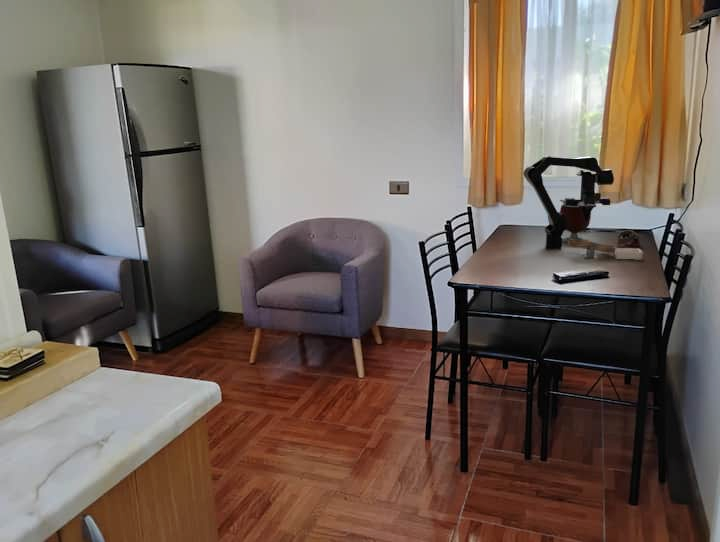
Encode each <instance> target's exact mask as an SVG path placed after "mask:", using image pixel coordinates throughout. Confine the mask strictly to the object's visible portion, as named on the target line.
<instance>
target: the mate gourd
mask: <svg viewBox="0 0 720 542" xmlns="http://www.w3.org/2000/svg"><path fill="white" fill-rule="evenodd" d="M559 202H561V203H562V204H561V207H560V211H559V212H560V213H563V214H564V217H565V219H566V220H567V221H568V222H566V223H567V228H566V230H565V231H567V232H569V233H570V235H569V236H561V238H562V242H564V241H566V242H565V243H568V241H569V237H570V238H571V239H573V240H579V241H587V242H588V241H589V240H588V239H589V238H586V237H583V236H579V233H580V232H583V231H585V230H586V229H587V228H589V225H590V222H591V215H592V212H591V213H590V215H589V217H588V220H587V221H585V219H584V216H583V213H582V210H581V208H580V207H578V206H577V205H578V204H574V205H565V204H564V200H563V199H560V200H559ZM585 206H586V212H587V205H586V204H585Z"/></svg>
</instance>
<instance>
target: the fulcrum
mask: <svg viewBox="0 0 720 542" xmlns="http://www.w3.org/2000/svg"><path fill="white" fill-rule="evenodd" d="M595 253H596V250H595V247H590V249H586V253H585V254H582V256H584V257H583V258H584V259H585V260H586V259H598V260H600V259H599V257H598V255H596V254H595Z"/></svg>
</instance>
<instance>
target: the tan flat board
mask: <svg viewBox="0 0 720 542" xmlns="http://www.w3.org/2000/svg"><path fill="white" fill-rule="evenodd" d="M568 237H569V241H568V242H567V244H568V246H569V247H572V248H578V249H585V250H587V249H590V247H595V252H596V251H597V252H602V253H610V254H613V253H615V249H616V247H614V245H610V244H605V243H598V242H597V243H596V242H592V241H587V242H586V241H579V240H573V239H571V238H570V236H568Z"/></svg>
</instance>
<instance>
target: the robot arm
mask: <svg viewBox="0 0 720 542" xmlns="http://www.w3.org/2000/svg"><path fill="white" fill-rule="evenodd" d="M550 166H556V167H558V166H559V167H572V168H577V169H579V171H578V172H577V173H576V176H579V177H581V179H580V180H581V181H580V198H579V199H575V197H565V198H564V200H563V201H564V203H563V204H565V205H574V204H578V205H577V206H578V207H580V208H581V210H582V213H583V216H584V219H585V221H587V220H588V217H589V215H590V213H591V214H592V211H593V209H594V208H597V204H601V205H602V206H611V199H610V198H609V197H601V192H595V191H596V190H595V187H596V184H597V186H611V185H613V184H614V181H615V177H614V173H613V169H602V168H601V167H600V165H599V161H598V159H596V157H592V156H583V157H582V156H581V157H580V156H579V157H574V158H572V157H562V156H561V157H560V156H550V155H549V156H548V155H545V156H543V157H542V158H541V159H540V160H538V161H536V162H534V163H533V164H532V165H530V166H527V167H526V168H524V170H523V177H524V178H525V179H526V181H527V182H528V183H529V184H530V186H532V188H533V189H534V191H535V193H536V195H537V196H538V199H539V201H540V203H541V204H542V206H543V209H544V210H545V212H546V215H547V221H548V225H547V226H546V227H544V230H543V231H544V233H545V245H544V247H545V249H546V250H562V247H563V241H562V237H563V233H564V232H565V231H567V230H566V228H567V223H566V222H568V221H567V220H566V219H565V217H564V214H563V213H560V211H557V209H556V207H555V205H554V202H553V201H552V199H551V197H550V195H549V193H548V190H546V187H545V186H544V180H543V175H542V174H543V173H545V171H547V169H548V168H550ZM580 169H581V170H580ZM585 170H586V171H585ZM585 204H586V205H587V212H586V206H585Z"/></svg>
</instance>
